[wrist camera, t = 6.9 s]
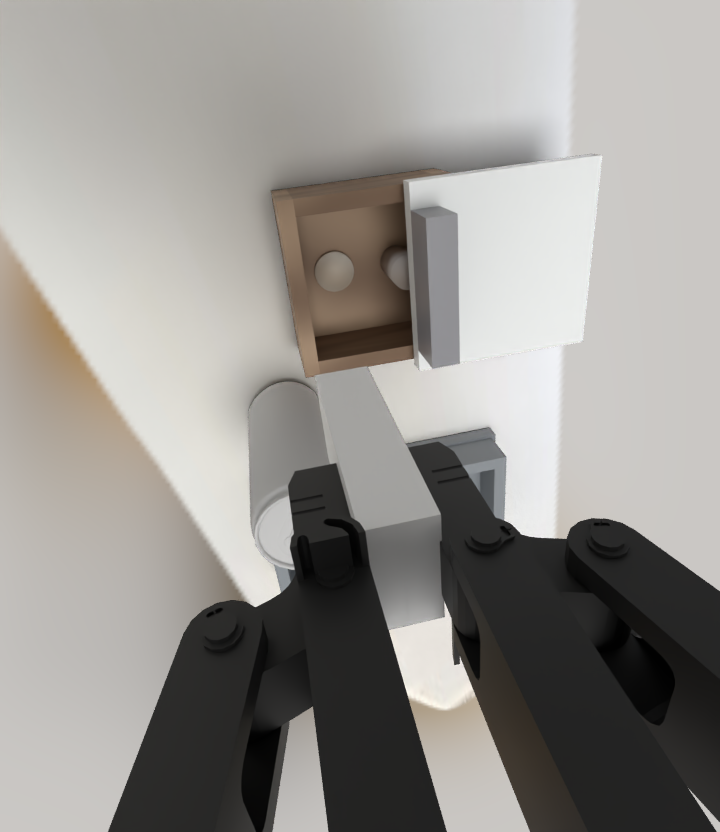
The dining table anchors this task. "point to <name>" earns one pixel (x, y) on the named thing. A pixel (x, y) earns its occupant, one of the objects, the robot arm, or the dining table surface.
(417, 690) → the dining table surface
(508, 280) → the lid
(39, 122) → the dining table surface
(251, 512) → the beverage can
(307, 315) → the tray
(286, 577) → the socket board
